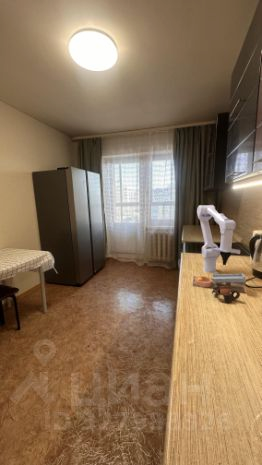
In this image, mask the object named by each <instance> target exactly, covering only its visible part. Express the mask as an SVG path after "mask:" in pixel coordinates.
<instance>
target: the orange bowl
mask: <svg viewBox="0 0 262 465" xmlns="http://www.w3.org/2000/svg"><path fill="white" fill-rule="evenodd" d="M198 277H201V278H202V279H203V281H202V282H201V281H198V280H197V278H198ZM212 279H213V278H212ZM212 279H210V277H208V276H205V275H204V276H203V275H201V276H200V275H198V276H196V278H195V284H196V285H198V286H200V287H199V288H202V287H210V286H212Z"/></svg>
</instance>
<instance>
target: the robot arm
mask: <svg viewBox="0 0 262 465" xmlns="http://www.w3.org/2000/svg"><path fill="white" fill-rule="evenodd" d="M196 213H197V217H198V218H197V219H198V220H199V222H200V227H201V231H202V236H203V241H204V242H203V243H204V245H202V247H201V255H202V258H203V259H204V260H203V261H204V262H203V267H202V271H203V272H208V273H213V272H217V269H216V268H217V260H218V259H219V257H220V256H221V259H222V265H223V266H226V265H227V262H228V260H229V259H230V257H232V256H231V255H232V254H237V255H240V254H241V249H236V248H232V246H233V245H232V244H233V233H234V231H235V230H236V228H237V223H236V221H235V220H234V219H229V218H228V217H227V216H225V214H224V213H219V212H218V211H217V210H216V206H214V205H213V204H209V205H204V204H203V205H202V204H200V205H198V207H197V210H196ZM212 218H213V219H214V221H215V223H216V224H217V225H219V229H220V245H219V246H218V245H217V244H216V243H215V242H214V240H213V236H212V232H211V227H210V222H209V221H210V220H211V219H212Z"/></svg>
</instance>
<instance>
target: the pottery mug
mask: <svg viewBox="0 0 262 465" xmlns="http://www.w3.org/2000/svg"><path fill="white" fill-rule="evenodd" d="M211 294H220V295H221V296H222V297H223V299H219V302H220V303H222V304H231V303H233V302H234V301H235V300H238V299H239V298H240V297H241V293H239V291H238V290H230V289H229V286H221V287H213V289H212V291H211ZM234 294H236V295H235V296H234Z"/></svg>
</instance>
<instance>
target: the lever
mask: <svg viewBox="0 0 262 465" xmlns="http://www.w3.org/2000/svg"><path fill="white" fill-rule="evenodd" d="M212 279H213V282H239V284H240V285H243V286H246V276H245V274H244V273H243V272H241V273H231V274H227V273H224V274H219V271H216V272H212Z"/></svg>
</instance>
